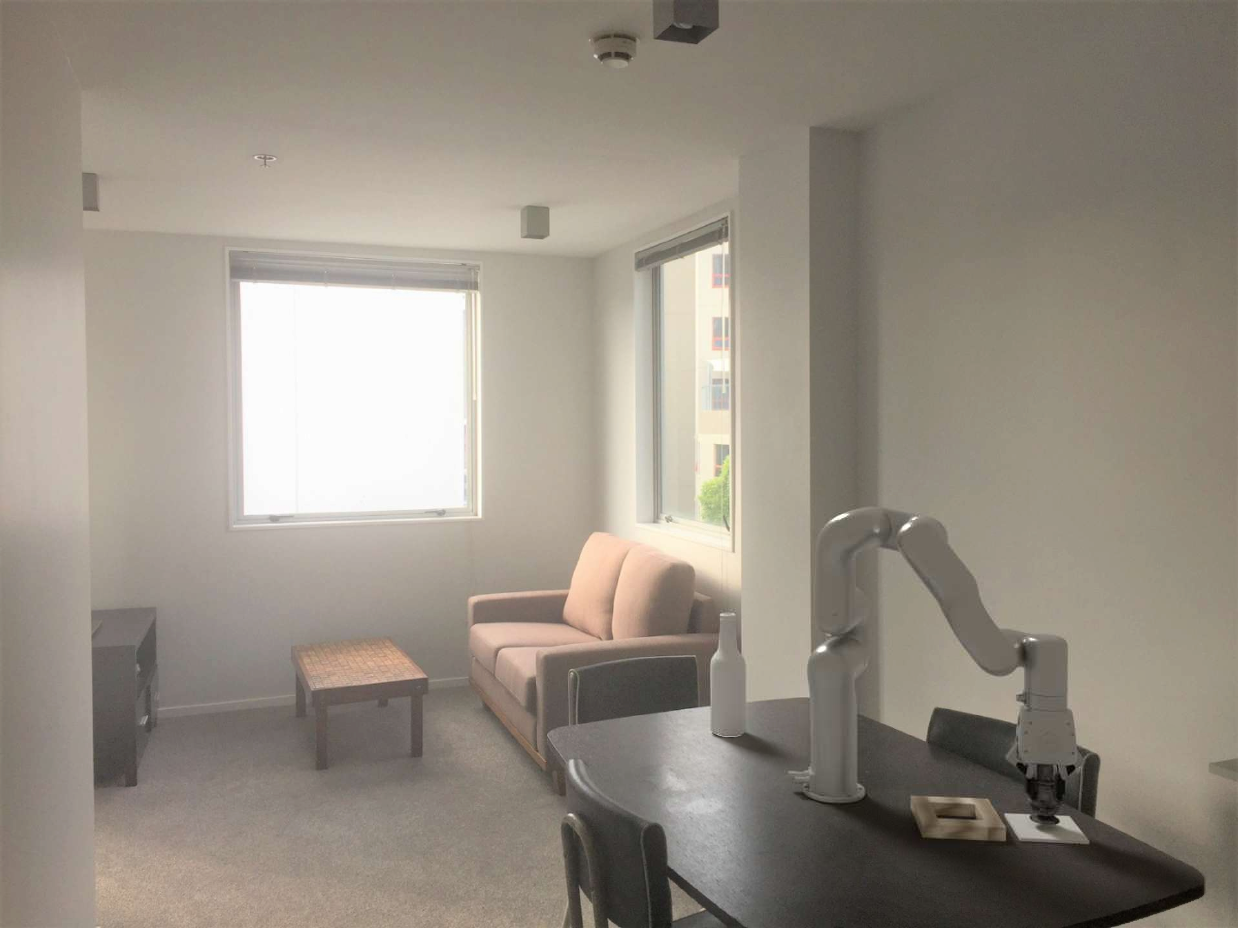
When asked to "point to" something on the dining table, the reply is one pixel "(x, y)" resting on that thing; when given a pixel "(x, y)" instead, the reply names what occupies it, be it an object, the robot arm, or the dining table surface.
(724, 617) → the alcohol
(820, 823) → the dining table surface
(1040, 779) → the black chess piece
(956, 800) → the frame
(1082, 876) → the dining table surface
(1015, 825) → the rubber mat
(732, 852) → the dining table surface
